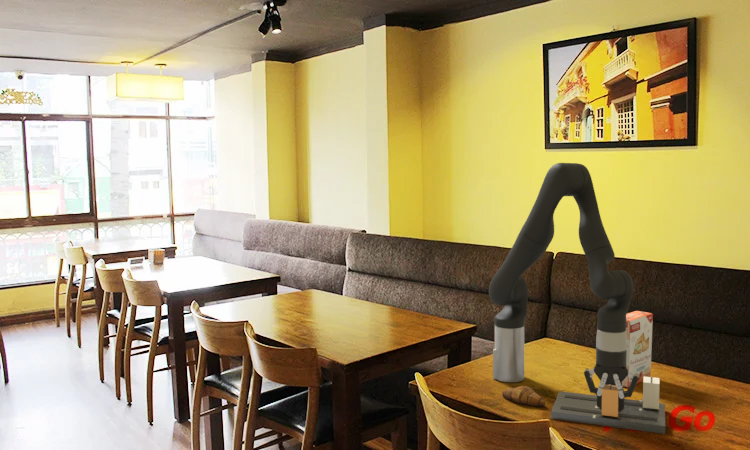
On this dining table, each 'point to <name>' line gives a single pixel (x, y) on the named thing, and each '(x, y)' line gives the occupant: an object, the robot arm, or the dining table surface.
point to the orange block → (610, 400)
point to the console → (588, 412)
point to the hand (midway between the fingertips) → (610, 409)
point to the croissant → (524, 396)
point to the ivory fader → (651, 392)
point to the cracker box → (638, 345)
